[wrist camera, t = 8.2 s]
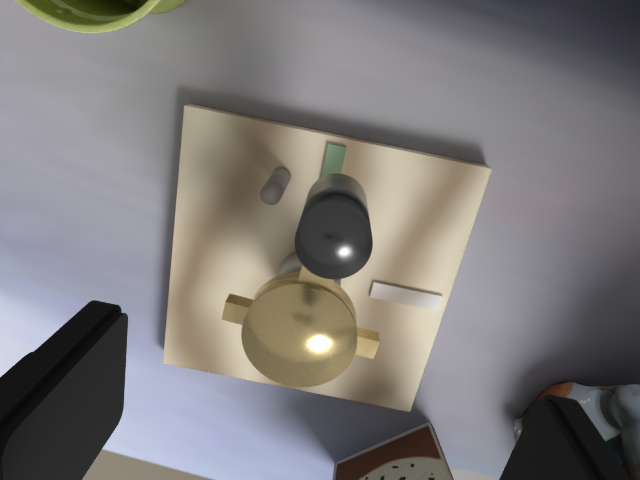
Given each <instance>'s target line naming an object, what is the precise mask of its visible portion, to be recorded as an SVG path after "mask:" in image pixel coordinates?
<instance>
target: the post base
mask: <svg viewBox="0 0 640 480" xmlns="http://www.w3.org/2000/svg"><path fill="white" fill-rule="evenodd" d="M491 170H492V169H491V168H490V167H488V166H487V165H483V164H478V163H474V162H469V161H464V160H459V159H454V158H449V157H445V156H440V155H435V154H430V153H425V152H420V151H416V150H411V149H406V148H401V147H396V146H391V145H387V144H382V143H377V142H372V141H367V140H362V139H358V138H353V137H348V136H343V135H338V134H333V133H329V132H324V131H319V130H314V129H309V128H304V127H300V126H295V125H290V124H285V123H280V122H275V121H271V120H266V119H261V118H256V117H251V116H246V115H242V114H237V113H232V112H227V111H222V110H217V109H213V108H208V107H203V106H198V105H193V104H188V105H184V115H183V127H182V139H181V151H180V163H179V175H178V188H177V200H176V212H175V224H174V236H173V248H172V260H171V272H170V284H169V296H168V308H167V321H166V333H165V345H164V357H163V363H164V364H169V365H174V366H179V367H184V368H189V369H194V370H199V371H204V372H210V373H215V374H220V375H225V376H230V377H235V378H240V379H245V380H250V381H255V382H260V383H265V384H271V385H276V386H281V387H286V388H291V389H296V390H301V391H306V392H311V393H316V394H321V395H326V396H331V397H337V398H342V399H347V400H352V401H357V402H362V403H367V404H372V405H377V406H382V407H387V408H392V409H397V410H403V411H408V412H410V411H411V408H412V405H413V402H414V399H415V396H416V393H417V390H418V387H419V384H420V381H421V378H422V375H423V372H424V369H425V366H426V363H427V360H428V357H429V354H430V351H431V348H432V345H433V342H434V339H435V336H436V333H437V331H438V328H439V325H440V322H441V319H442V316H443V313H444V310H445V307H446V304H447V301H448V298H449V295H450V292H451V289H452V286H453V283H454V280H455V277H456V274H457V271H458V268H459V265H460V262H461V259H462V256H463V253H464V250H465V248H466V245H467V242H468V239H469V236H470V233H471V230H472V227H473V224H474V221H475V218H476V215H477V212H478V209H479V206H480V203H481V200H482V197H483V194H484V191H485V188H486V185H487V182H488V179H489V176H490V173H491ZM334 173H339V174H345V175H348V176H350V177H352V178H354V179H355V180H356V181H358V182H359V183H360V185H361V186H362V187H363V189H364V191H365V194H366V198H367V205H368V211H369V218H370V225H371V232H372V239H373V247H372V252H371V256H370V258H369V260H368V262H367V263H366V264H365V266H364V267H363V268H362V269H361V270H360V271H358V272H357V273H355V274H354V275H352V276H349V277H346V278H343V279H334V282H335V283H337V284H338V285H339V286H340V287H341V288H342V289H343V290H344V291H345V292H346V293H347V294H348V296H349V297H350V299H351V301H352V303H353V305H354V308H355V311H356V319H357V327H360V328H363V329H367V330H371V331H375V332H379V340H380V343H379V345H378V348H377V351H376V354H375V356H374V359H371V358H367V357H363V356H360V355H356V354H355V355H354V358H353V360H352V362H351V363H350V365H349V366H348V367H347V369H346V370H345V371H344V372H343V373H342V374H340V375H339V376H338V377H336V378H335V379H333V380H331V381H329V382H327V383H324V384H322V385H318V386H313V387H291V386H286V385H283V384H280V383H277V382H275V381H272V380H271V379H269V378H267V377H265V376H264V375H263V374H261V373H260V372H259V371H258V370H257V369H256V368H255V367H254V366H253V365H252V364H251V362H250V361H249V359H248V358H247V356H246V354H245V351H244V348H243V345H242V339H241V331H242V325H240V324H236V323H233V322H229V321H225V320H222V315H223V310H224V306H225V301H226V299H227V298H228V296H229V294H234V295H238V296H242V297H245V298H249V299H253V297H254V295H255V294H256V292H257V291H258V290H259V289H260V288H261V286H262V285H264V284H265V283H266V282H267V281H269V280H271V279H272V278H274V277H276V276H279V275H281V274H285V273H289V272H300V271H301V267H302V263H301V262H300V260H299V258H298V256H297V254H296V250H295V234H296V231H297V228H298V225H299V221H300V218H301V215H302V212H303V208H304V205H305V202H306V199H307V195H308V192H309V190H310V188H311V187H312V185H313V184H314V183H315V182H316V181H317V180H318V179H320V178H321V177H323V176H325V175H328V174H334Z"/></svg>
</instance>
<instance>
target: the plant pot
mask: <svg viewBox="0 0 640 480" xmlns="http://www.w3.org/2000/svg"><path fill="white" fill-rule="evenodd" d="M15 1H16V2H17V3H18V4H20V5H21V6H22V7H23V8H25V9H26V10H27V11H29V12H30V13H32V14H33V15H35V16H36V17H38V18H40V19H42V20H44V21H45V22H48V23H50V24H52V25H55V26H57V27H60V28H63V29H66V30H70V31H75V32H81V33H103V32H110V31H115V30H118V29H121V28H124V27H127V26H129V25H131V24H133V23H135V22H137V21H138V20H140V19H142V18H143V17H144V16H146V15H147V14H152V13H162V12H167V11H170V10H173V9H175V8H177V7H178V6H180V5H181V4H183V3H184V2H185V1H186V0H15Z"/></svg>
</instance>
